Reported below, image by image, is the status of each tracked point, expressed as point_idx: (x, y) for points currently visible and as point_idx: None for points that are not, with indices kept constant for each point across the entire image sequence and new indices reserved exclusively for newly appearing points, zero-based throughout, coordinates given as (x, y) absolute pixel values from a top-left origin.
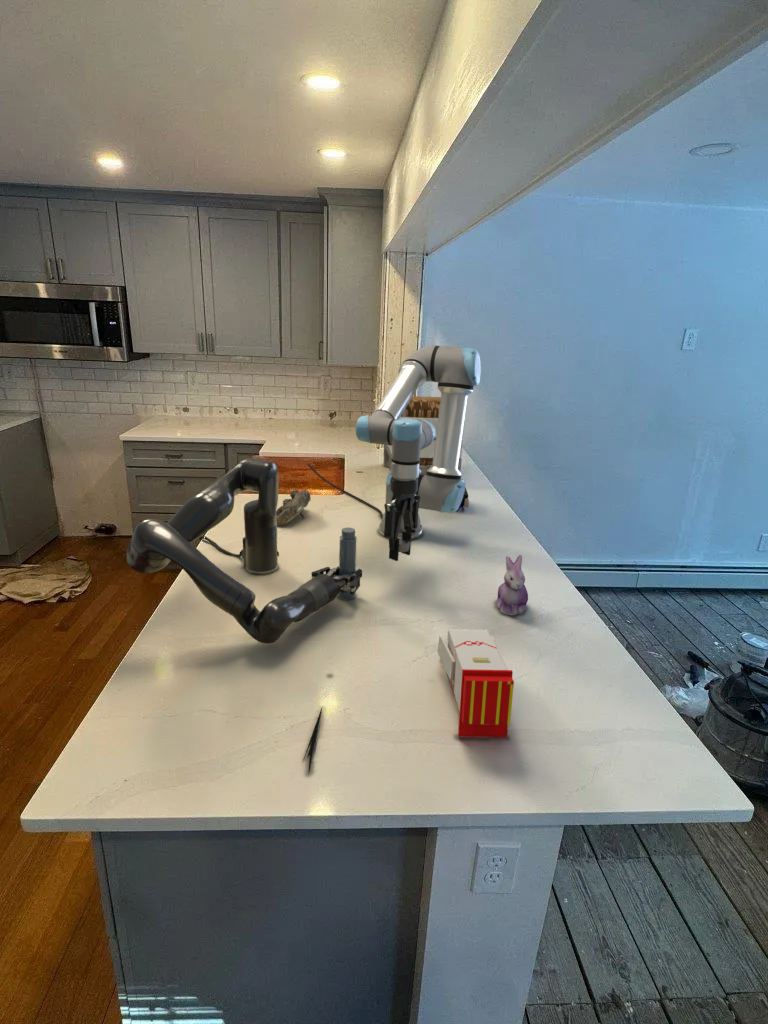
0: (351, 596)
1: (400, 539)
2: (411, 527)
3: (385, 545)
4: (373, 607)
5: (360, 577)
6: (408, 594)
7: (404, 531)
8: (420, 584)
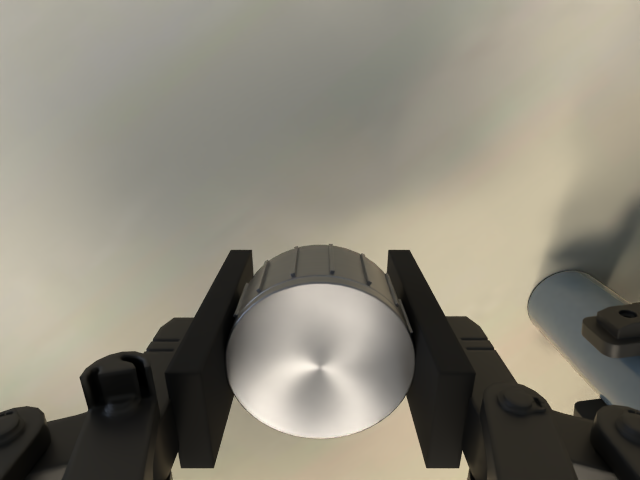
0: (588, 276)
1: (287, 390)
2: (125, 453)
3: None
4: (597, 149)
5: (625, 305)
6: (375, 102)
7: (187, 457)
8: (237, 124)
